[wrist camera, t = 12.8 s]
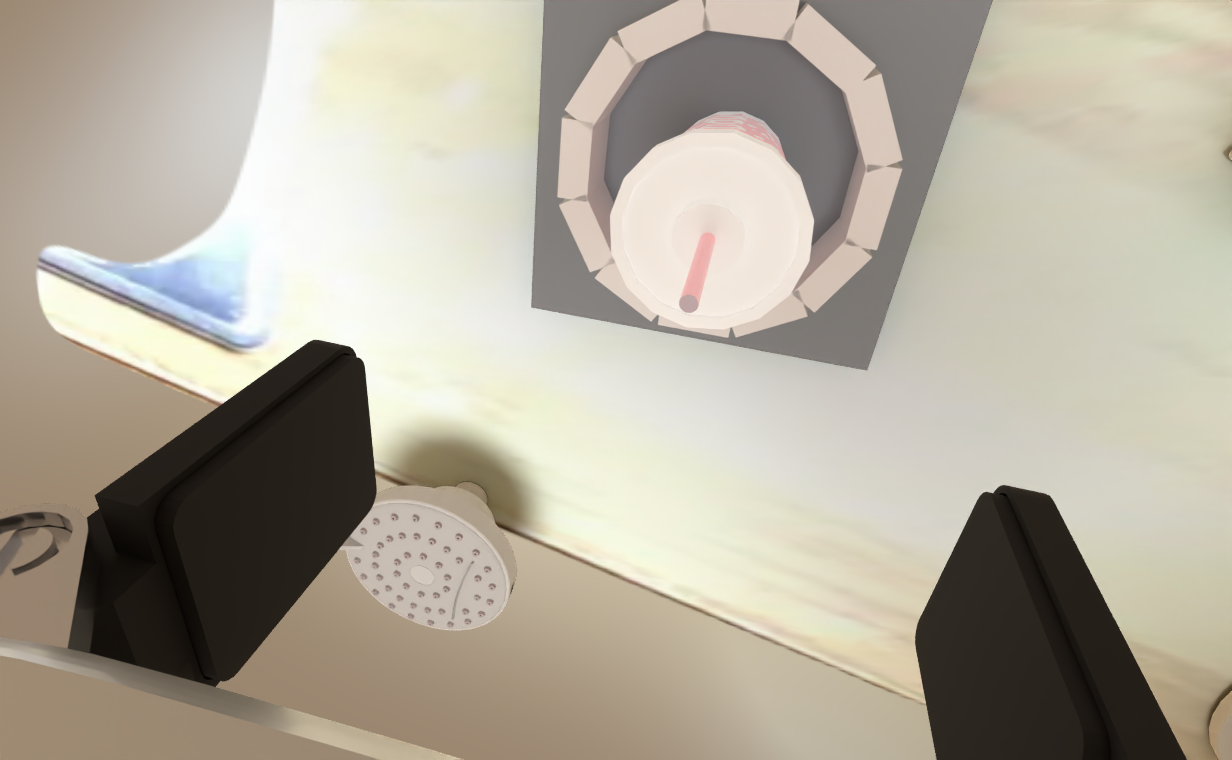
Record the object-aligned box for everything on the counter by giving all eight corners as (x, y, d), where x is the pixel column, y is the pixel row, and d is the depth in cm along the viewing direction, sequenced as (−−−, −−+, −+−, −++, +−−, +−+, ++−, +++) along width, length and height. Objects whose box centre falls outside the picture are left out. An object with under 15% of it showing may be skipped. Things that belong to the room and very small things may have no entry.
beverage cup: (826, 107, 26) (862, 207, 14) (780, 256, 29) (779, 438, 18) (670, 75, 27) (582, 145, 15) (642, 224, 30) (551, 380, 18)
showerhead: (335, 480, 33) (523, 561, 33) (405, 403, 39) (564, 472, 39) (315, 598, 38) (479, 668, 38) (379, 513, 44) (521, 574, 44)
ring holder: (996, -38, 24) (1033, -42, 20) (864, 358, 32) (874, 404, 29) (557, -87, 26) (521, -98, 22) (538, 297, 34) (510, 334, 31)
